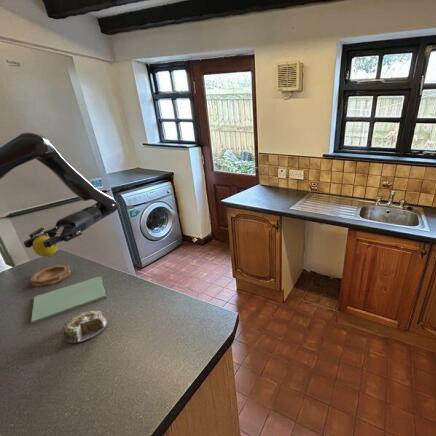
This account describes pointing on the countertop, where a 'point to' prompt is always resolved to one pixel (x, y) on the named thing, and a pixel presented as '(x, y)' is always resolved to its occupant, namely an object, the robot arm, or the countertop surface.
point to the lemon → (43, 247)
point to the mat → (67, 299)
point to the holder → (50, 275)
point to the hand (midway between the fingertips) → (35, 245)
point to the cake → (84, 326)
